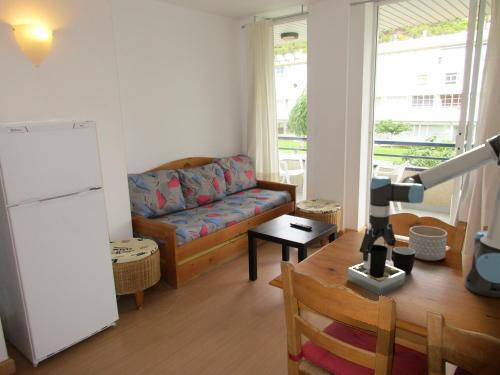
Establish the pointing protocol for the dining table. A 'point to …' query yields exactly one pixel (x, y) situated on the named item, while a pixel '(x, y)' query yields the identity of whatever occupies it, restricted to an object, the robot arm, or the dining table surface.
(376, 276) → the cup
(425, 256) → the planter
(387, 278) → the grey square tray
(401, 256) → the mug
